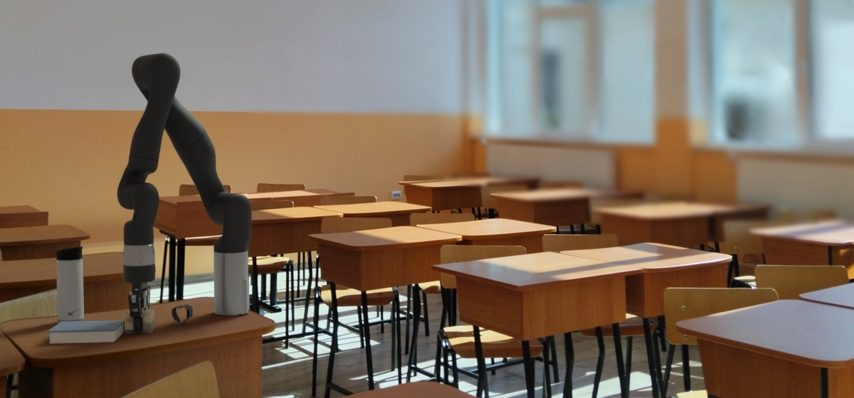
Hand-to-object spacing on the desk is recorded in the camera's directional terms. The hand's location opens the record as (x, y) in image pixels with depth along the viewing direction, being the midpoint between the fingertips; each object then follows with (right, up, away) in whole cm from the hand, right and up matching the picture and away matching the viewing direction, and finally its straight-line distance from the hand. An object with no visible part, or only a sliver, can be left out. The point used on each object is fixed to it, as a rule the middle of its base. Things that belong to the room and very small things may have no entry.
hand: (140, 329), depth 200 cm
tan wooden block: (0, 0, 0) cm, 0 cm away
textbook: (-10, -1, -7) cm, 12 cm away
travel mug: (-21, 0, +9) cm, 23 cm away
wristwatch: (+8, 0, +9) cm, 12 cm away
